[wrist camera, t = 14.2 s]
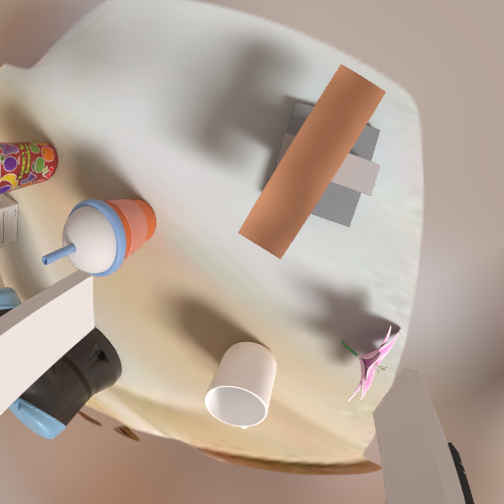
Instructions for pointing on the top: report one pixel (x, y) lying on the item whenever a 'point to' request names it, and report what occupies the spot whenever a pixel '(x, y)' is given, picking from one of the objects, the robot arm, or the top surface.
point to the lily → (371, 363)
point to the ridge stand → (340, 171)
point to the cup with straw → (104, 234)
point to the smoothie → (25, 164)
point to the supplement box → (8, 220)
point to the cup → (242, 385)
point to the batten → (312, 161)
